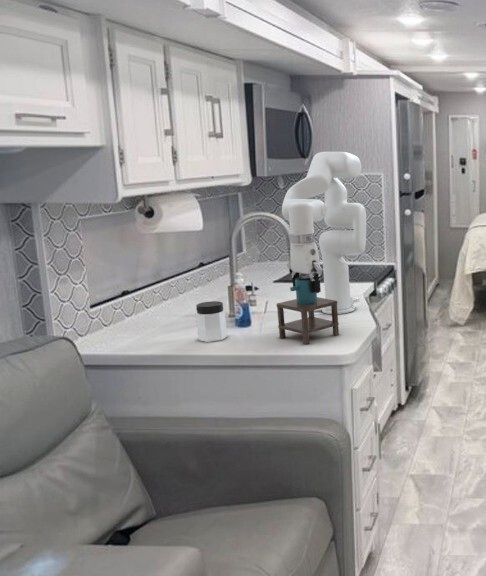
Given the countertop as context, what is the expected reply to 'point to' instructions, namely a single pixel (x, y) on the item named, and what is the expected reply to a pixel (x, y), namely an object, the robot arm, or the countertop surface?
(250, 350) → the countertop surface
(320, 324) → the stand
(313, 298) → the kettle
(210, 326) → the jar
